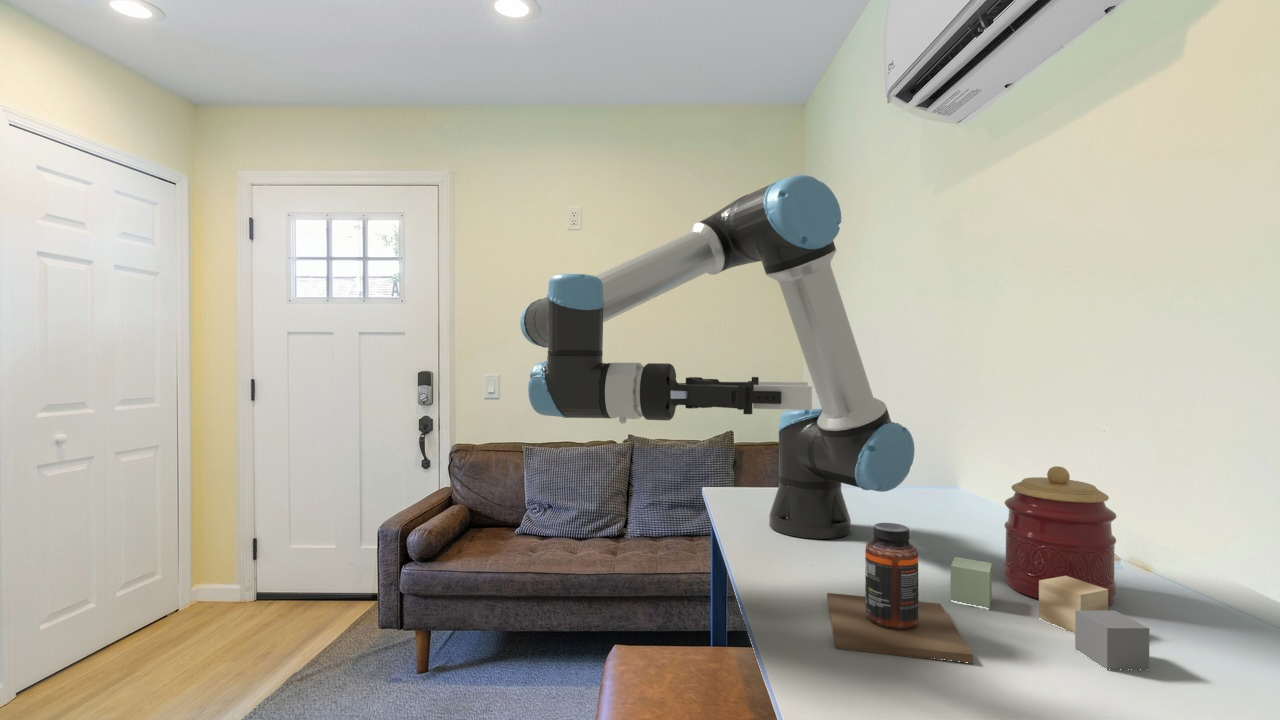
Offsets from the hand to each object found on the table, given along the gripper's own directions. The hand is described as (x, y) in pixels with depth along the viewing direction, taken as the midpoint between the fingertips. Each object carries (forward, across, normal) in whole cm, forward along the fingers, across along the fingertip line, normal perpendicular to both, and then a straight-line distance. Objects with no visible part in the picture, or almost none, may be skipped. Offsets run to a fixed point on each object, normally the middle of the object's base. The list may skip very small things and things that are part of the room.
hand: (809, 394), depth 75 cm
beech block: (+32, -7, -28) cm, 43 cm away
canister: (+35, -19, -28) cm, 49 cm away
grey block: (+32, +2, -28) cm, 42 cm away
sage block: (+22, -12, -28) cm, 37 cm away
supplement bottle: (+10, 0, -27) cm, 29 cm away
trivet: (+10, 0, -28) cm, 30 cm away
